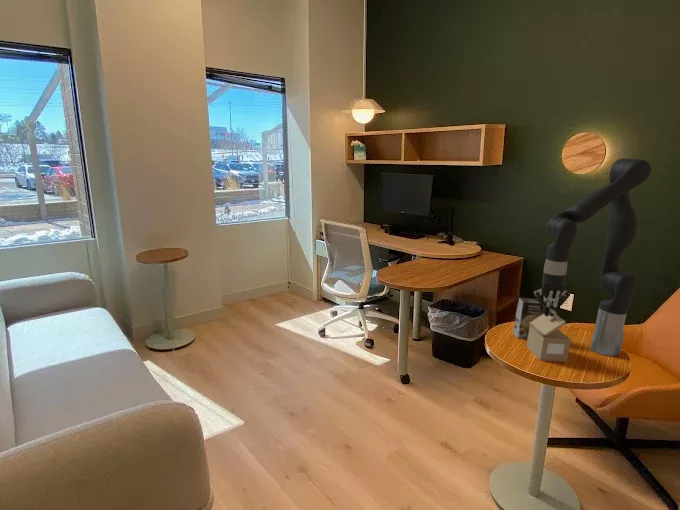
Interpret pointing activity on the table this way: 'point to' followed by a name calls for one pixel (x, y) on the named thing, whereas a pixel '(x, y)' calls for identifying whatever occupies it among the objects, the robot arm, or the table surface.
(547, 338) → the carton
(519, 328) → the coffee box
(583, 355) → the table surface
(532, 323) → the flap
